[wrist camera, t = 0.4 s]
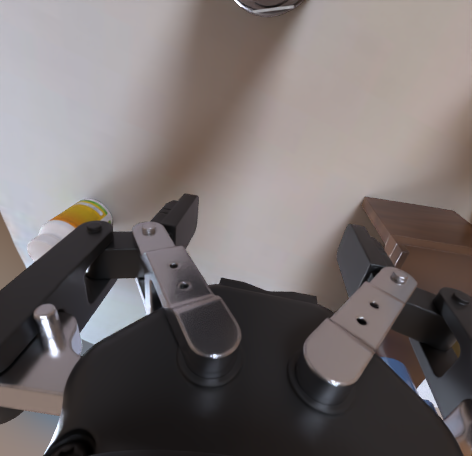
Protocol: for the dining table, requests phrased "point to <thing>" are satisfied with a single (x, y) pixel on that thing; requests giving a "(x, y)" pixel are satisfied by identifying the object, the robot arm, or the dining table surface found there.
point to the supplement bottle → (66, 225)
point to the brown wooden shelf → (421, 258)
